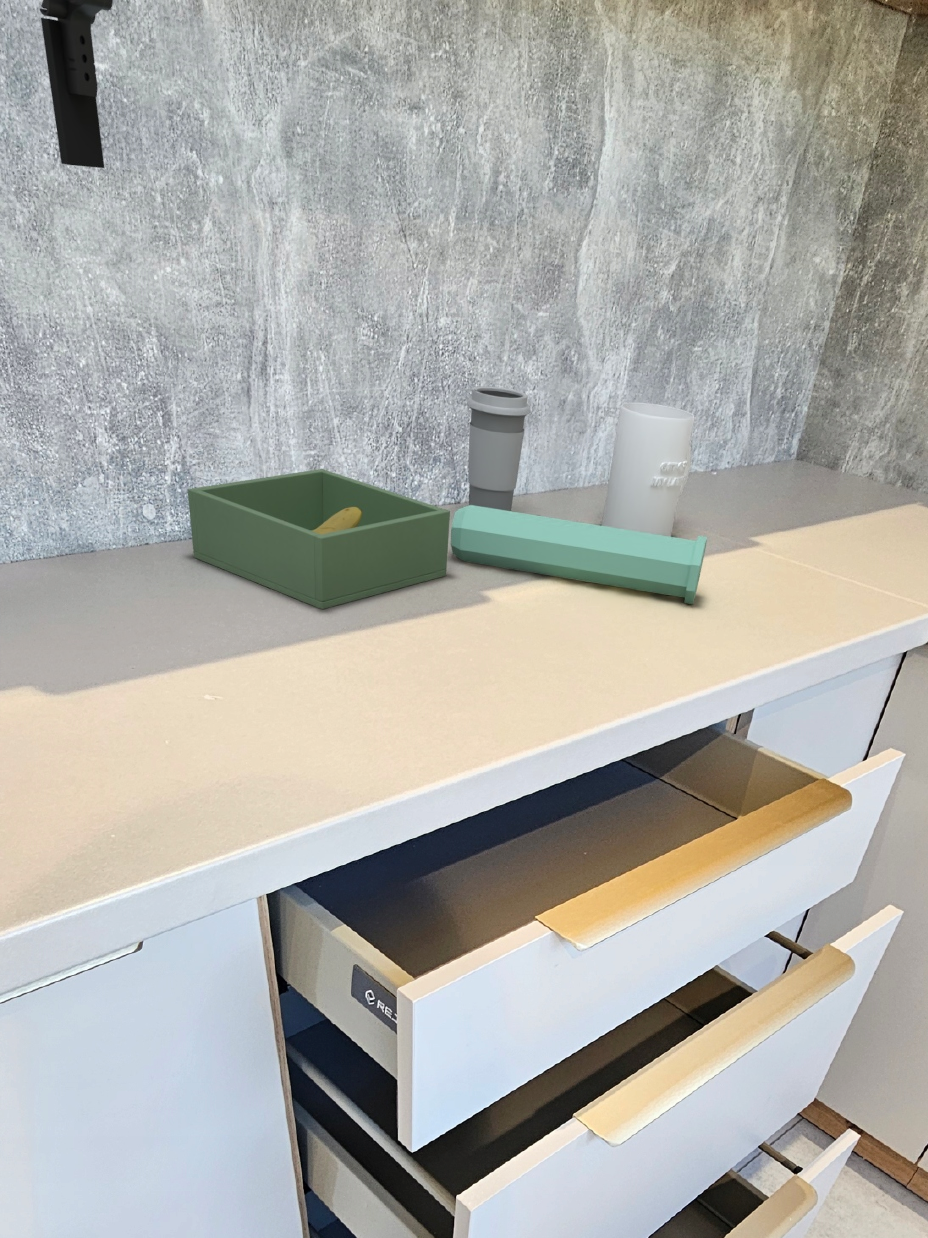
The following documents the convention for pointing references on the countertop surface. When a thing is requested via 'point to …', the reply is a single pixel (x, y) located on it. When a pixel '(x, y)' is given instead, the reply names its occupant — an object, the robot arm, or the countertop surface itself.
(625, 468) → the mug
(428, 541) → the bin
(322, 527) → the banana
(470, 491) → the cup
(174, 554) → the countertop surface
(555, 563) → the container
